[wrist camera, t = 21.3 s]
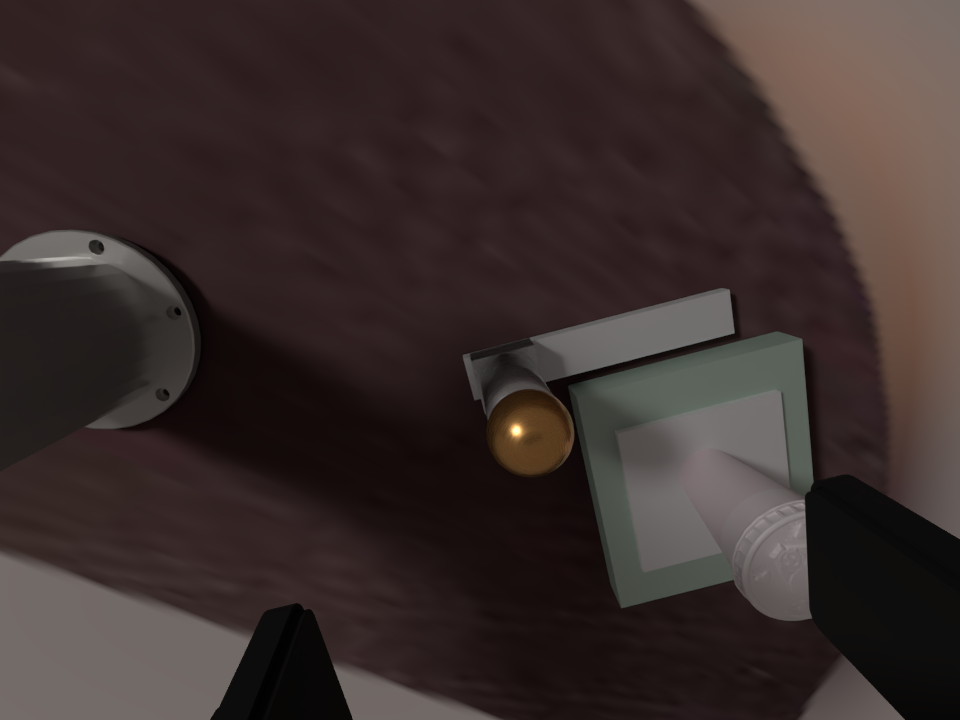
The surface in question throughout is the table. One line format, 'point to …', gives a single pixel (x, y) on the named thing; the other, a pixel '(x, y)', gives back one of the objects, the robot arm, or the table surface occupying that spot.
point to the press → (675, 430)
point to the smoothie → (753, 530)
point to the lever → (521, 410)
